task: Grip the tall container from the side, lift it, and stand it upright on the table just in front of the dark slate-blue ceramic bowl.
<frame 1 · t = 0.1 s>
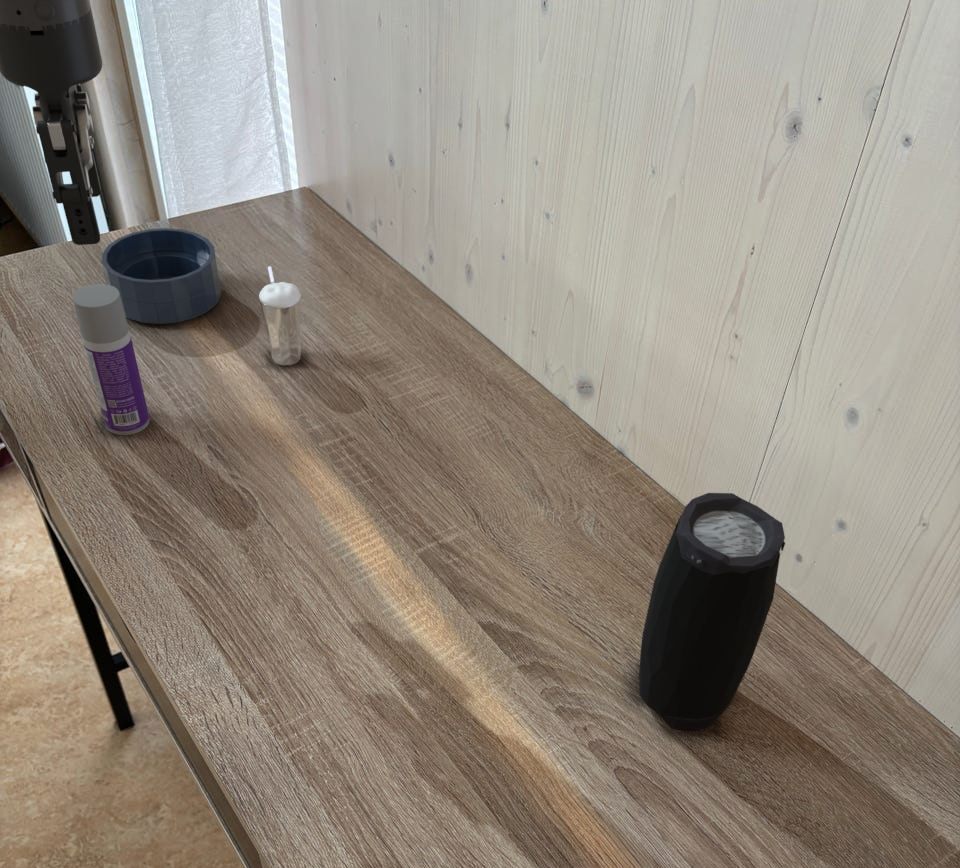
hand: (88, 218, 89), 26 cm above the table, tool pointing down, fingers open, 8 cm apart
milkshake: (285, 357, 123), on the table
portable speaker: (681, 697, 91), on the table
container: (127, 423, 113), on the table
bowl: (167, 299, 130), on the table
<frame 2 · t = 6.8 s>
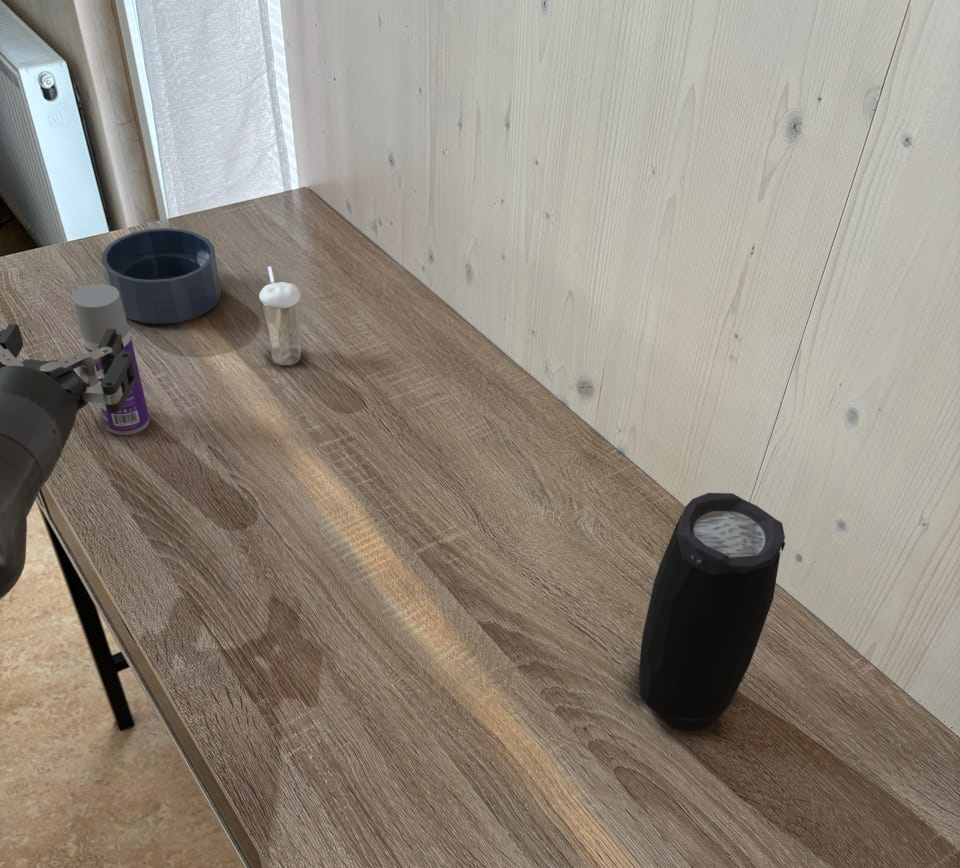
hand: (65, 335, 94), 17 cm above the table, tool horizontal, fingers open, 8 cm apart
nothing on the table moved.
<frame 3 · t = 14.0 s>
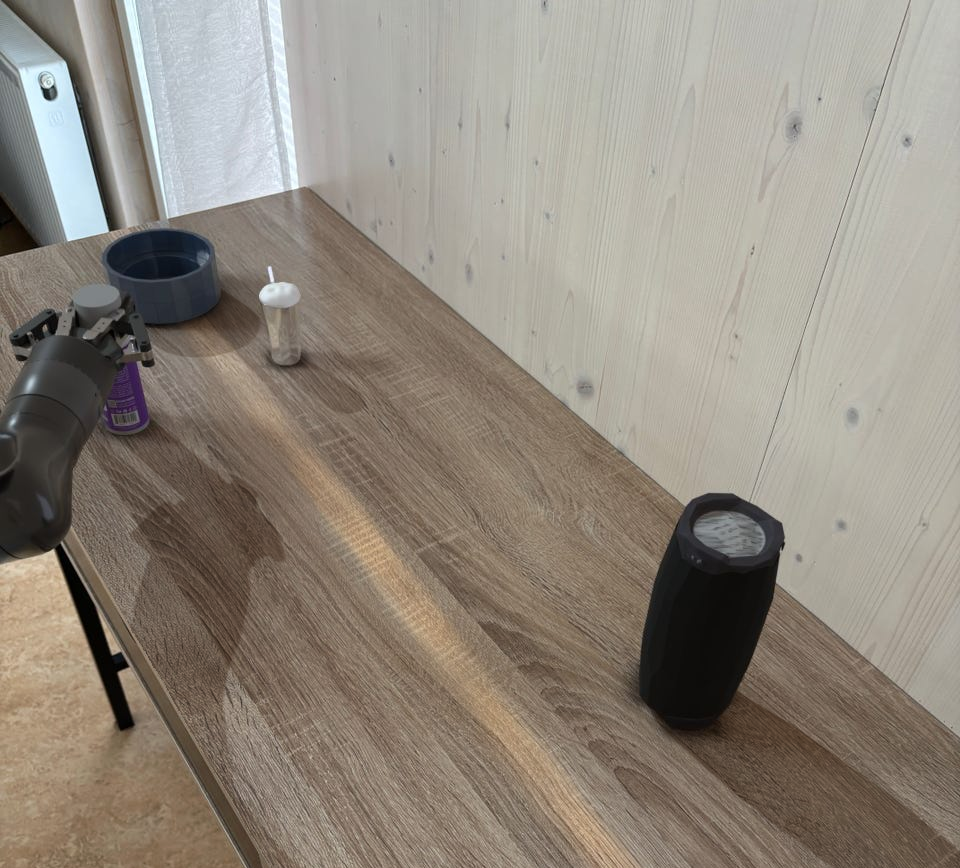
hand: (107, 298, 106), 13 cm above the table, tool horizontal, fingers closed on container, 3 cm apart
container: (127, 423, 113), on the table, touching gripper
everything else where it was.
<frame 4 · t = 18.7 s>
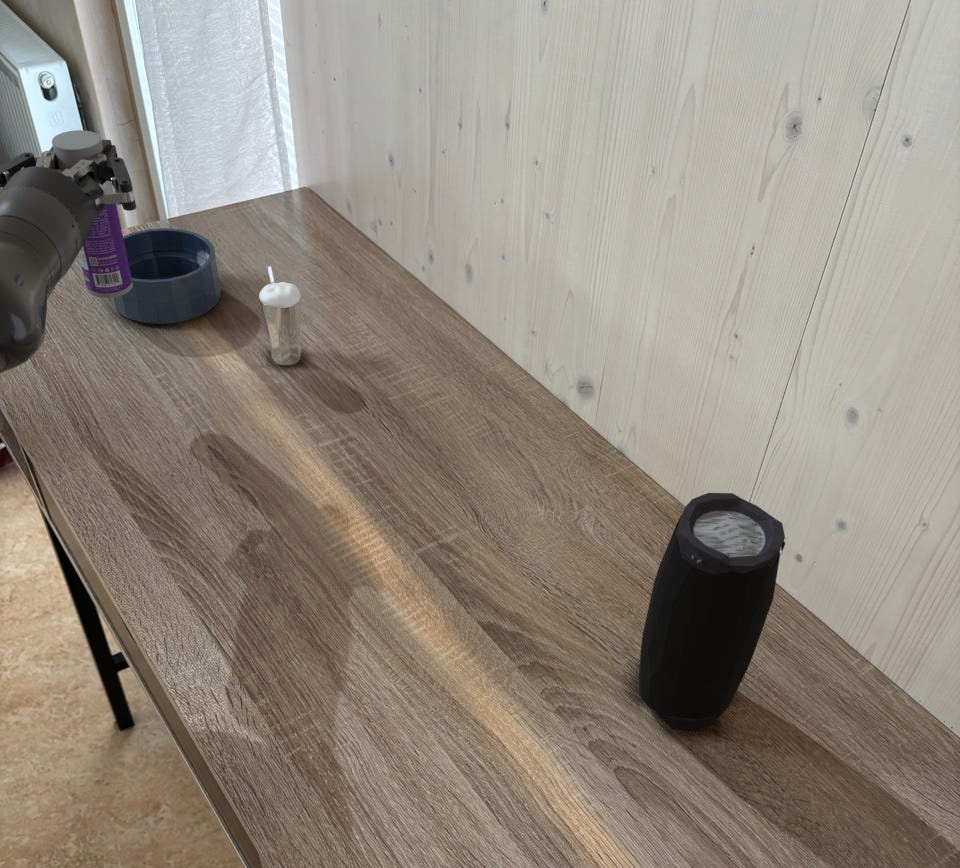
hand: (89, 148, 102), 25 cm above the table, tool horizontal, fingers closed on container, 3 cm apart
container: (110, 288, 110), point 11 cm above the table, touching gripper
everything else where it was.
when the fingers open (13 cm above the table, at t = 23.8 s): container stays where it is, on the table.
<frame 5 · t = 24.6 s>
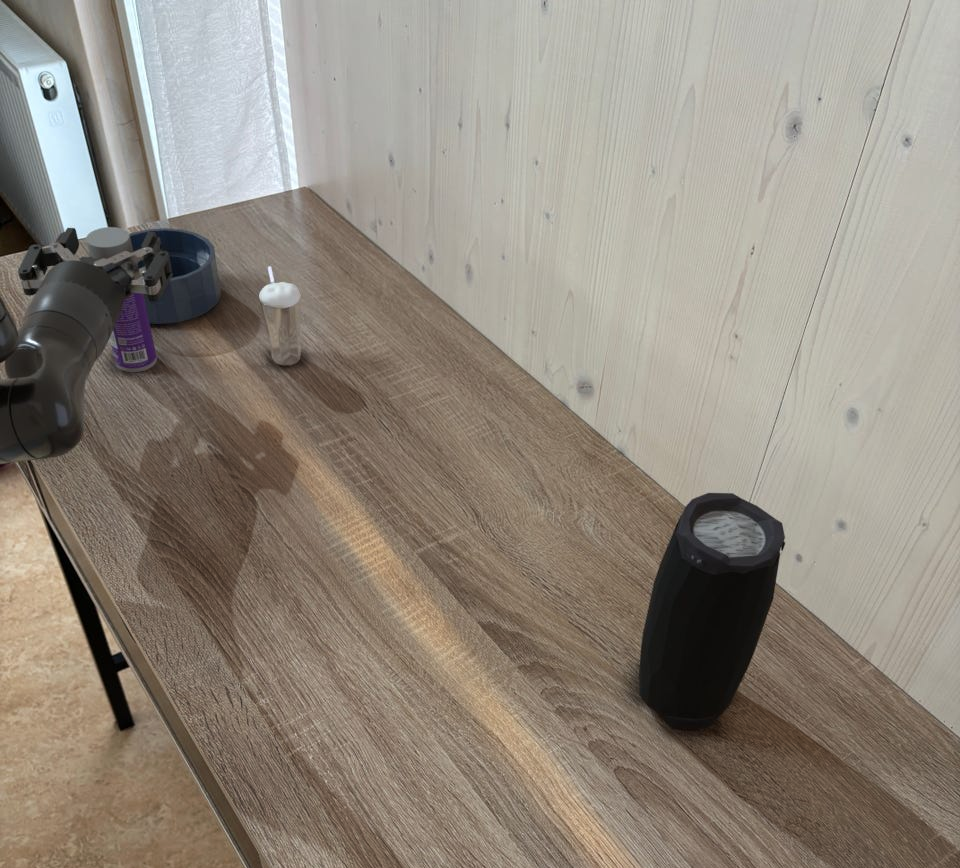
hand: (113, 238, 112), 14 cm above the table, tool horizontal, fingers open, 8 cm apart
container: (136, 362, 121), on the table
everything else where it was.
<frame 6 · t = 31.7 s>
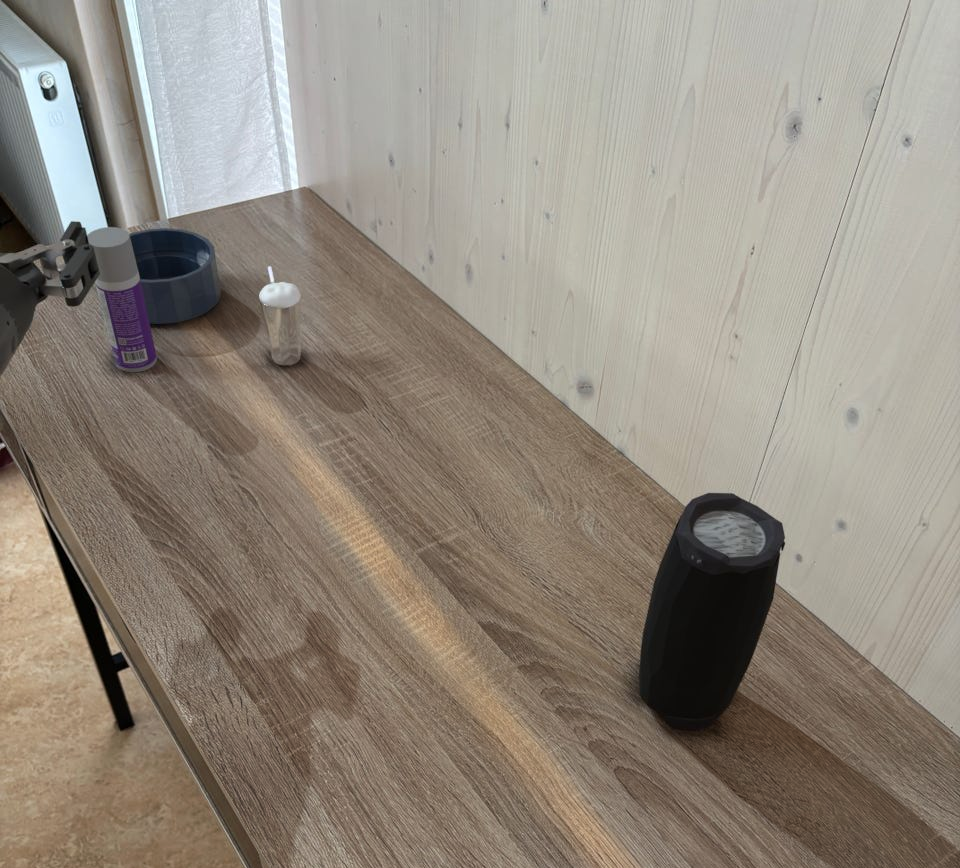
hand: (30, 229, 92), 24 cm above the table, tool horizontal, fingers open, 8 cm apart
nothing on the table moved.
at the end: container 13.8 cm from the bowl (horizontally); container tilted 0°; container on the table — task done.
